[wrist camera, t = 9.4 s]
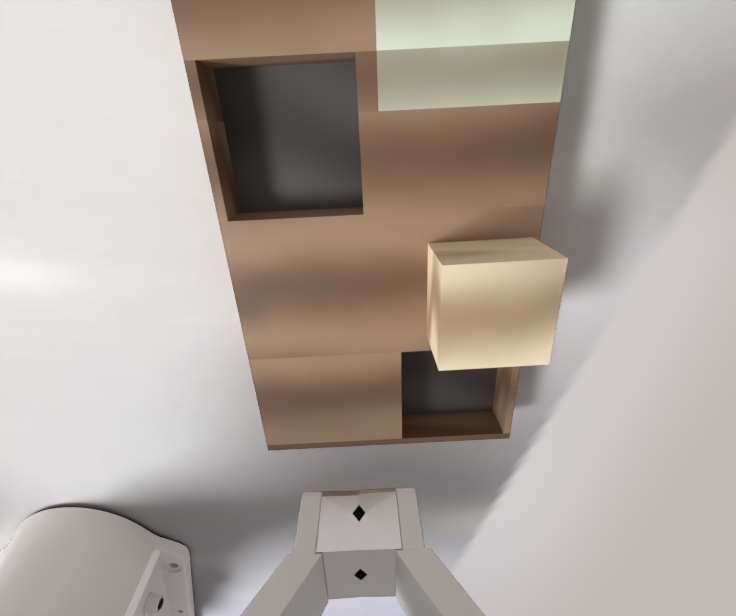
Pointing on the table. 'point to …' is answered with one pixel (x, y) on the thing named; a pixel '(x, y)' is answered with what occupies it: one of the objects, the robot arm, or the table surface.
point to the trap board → (369, 193)
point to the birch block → (493, 302)
